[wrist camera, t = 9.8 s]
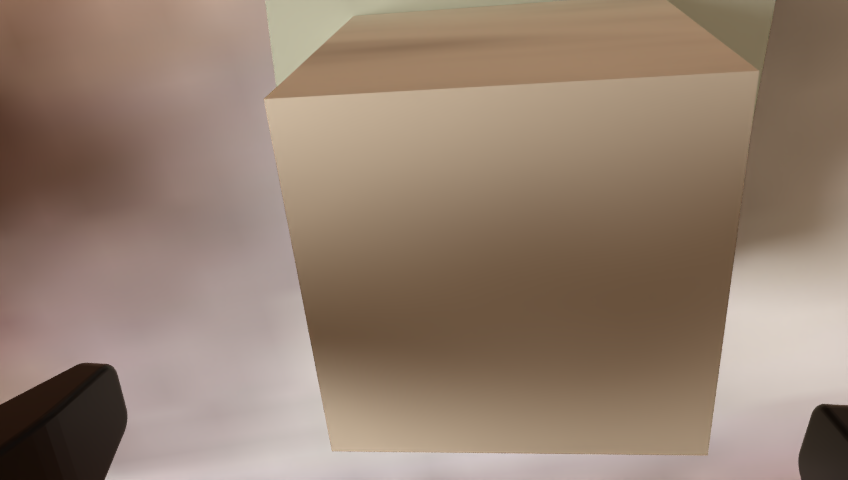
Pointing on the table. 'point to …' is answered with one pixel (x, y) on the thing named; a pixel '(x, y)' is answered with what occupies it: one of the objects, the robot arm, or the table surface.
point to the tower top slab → (337, 3)
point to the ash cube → (516, 225)
